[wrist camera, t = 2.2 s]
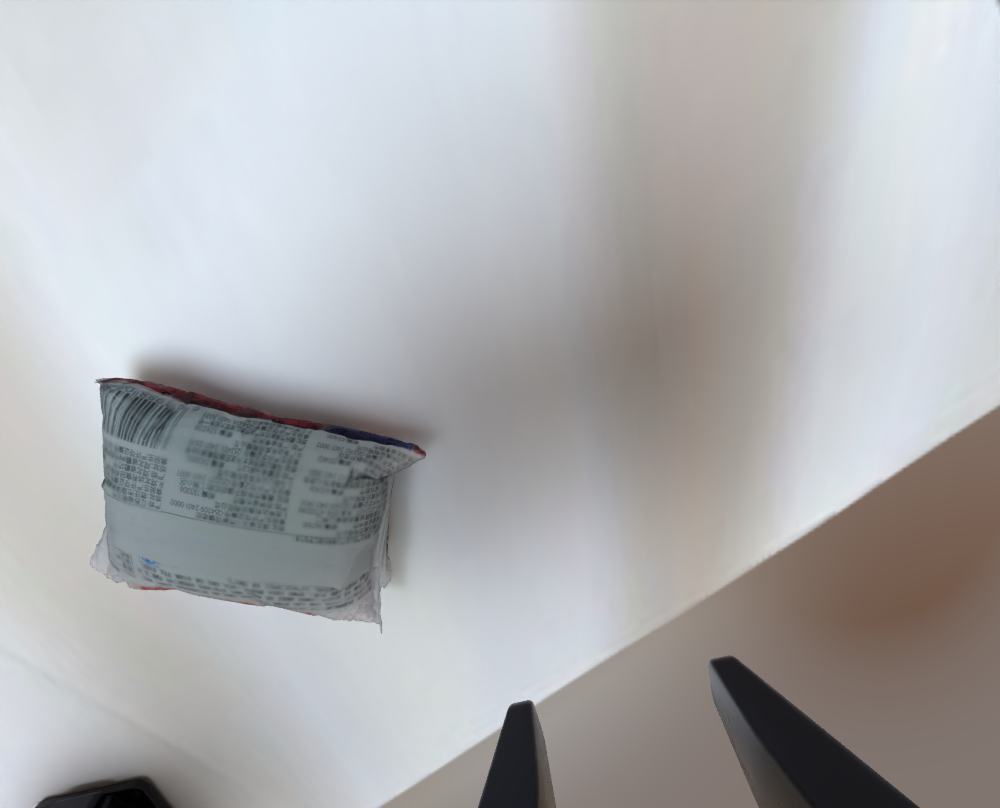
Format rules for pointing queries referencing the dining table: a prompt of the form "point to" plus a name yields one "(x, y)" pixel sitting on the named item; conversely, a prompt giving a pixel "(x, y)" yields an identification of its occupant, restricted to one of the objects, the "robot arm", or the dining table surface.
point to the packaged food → (244, 503)
